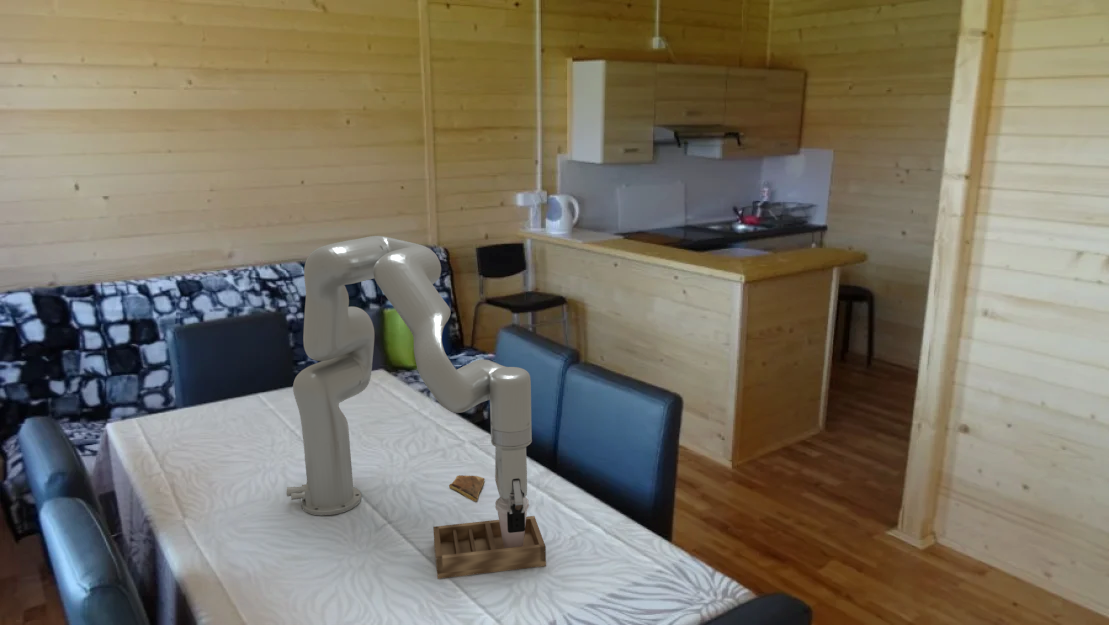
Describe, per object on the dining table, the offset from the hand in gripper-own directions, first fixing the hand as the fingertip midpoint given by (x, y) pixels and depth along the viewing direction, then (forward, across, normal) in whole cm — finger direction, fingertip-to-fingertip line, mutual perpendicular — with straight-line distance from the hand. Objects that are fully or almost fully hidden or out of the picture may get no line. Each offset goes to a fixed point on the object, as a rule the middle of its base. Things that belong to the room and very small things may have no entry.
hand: (513, 520), depth 151 cm
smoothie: (+6, 0, 0) cm, 6 cm away
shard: (+7, -29, -5) cm, 30 cm away
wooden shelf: (+7, 0, -5) cm, 8 cm away
